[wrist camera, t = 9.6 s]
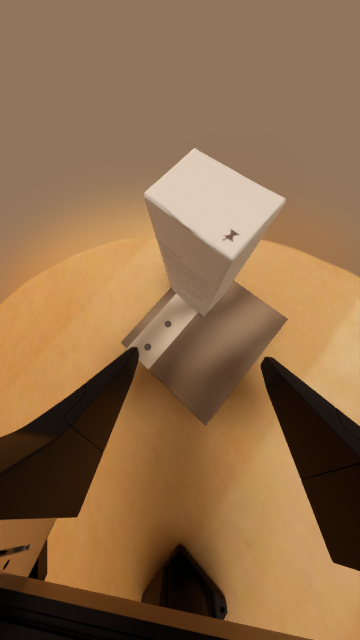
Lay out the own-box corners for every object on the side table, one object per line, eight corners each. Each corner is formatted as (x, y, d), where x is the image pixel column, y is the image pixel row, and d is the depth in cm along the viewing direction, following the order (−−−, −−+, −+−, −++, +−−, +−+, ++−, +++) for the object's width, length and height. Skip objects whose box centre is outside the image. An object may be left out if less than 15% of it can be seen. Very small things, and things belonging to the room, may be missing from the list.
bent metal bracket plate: (279, 321, 18) (289, 318, 17) (204, 418, 17) (205, 426, 15) (198, 262, 21) (199, 255, 19) (126, 342, 19) (120, 342, 17)
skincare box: (224, 295, 18) (293, 198, 6) (203, 317, 17) (233, 263, 6) (191, 268, 19) (194, 142, 7) (170, 289, 18) (138, 193, 7)
